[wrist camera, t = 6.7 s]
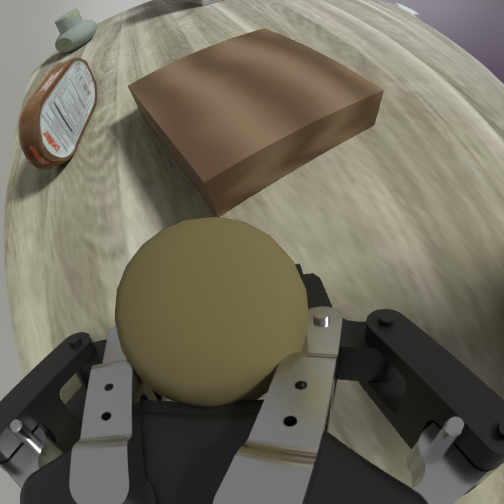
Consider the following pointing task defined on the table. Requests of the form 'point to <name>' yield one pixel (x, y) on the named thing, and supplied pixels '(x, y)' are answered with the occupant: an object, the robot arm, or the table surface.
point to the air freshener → (73, 31)
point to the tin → (58, 114)
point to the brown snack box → (202, 2)
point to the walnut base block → (252, 112)
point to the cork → (210, 311)
